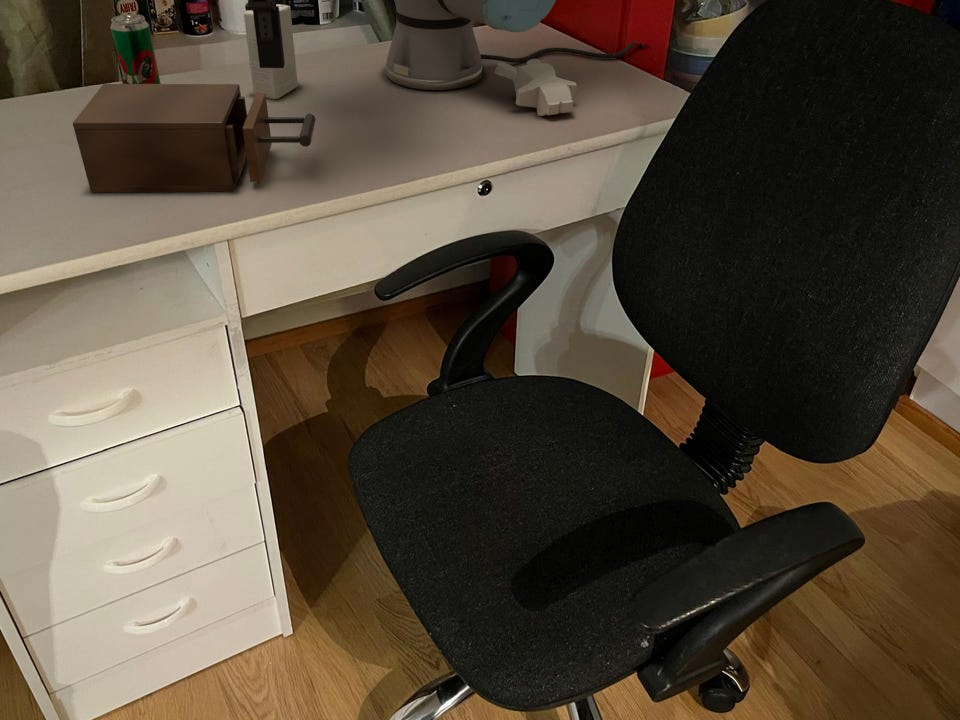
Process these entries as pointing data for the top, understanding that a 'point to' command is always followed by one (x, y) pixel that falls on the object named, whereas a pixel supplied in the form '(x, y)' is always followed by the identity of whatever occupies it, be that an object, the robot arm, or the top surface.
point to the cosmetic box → (272, 79)
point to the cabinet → (157, 138)
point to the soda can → (134, 49)
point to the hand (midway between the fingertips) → (272, 65)
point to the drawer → (258, 135)
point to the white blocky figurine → (540, 87)
